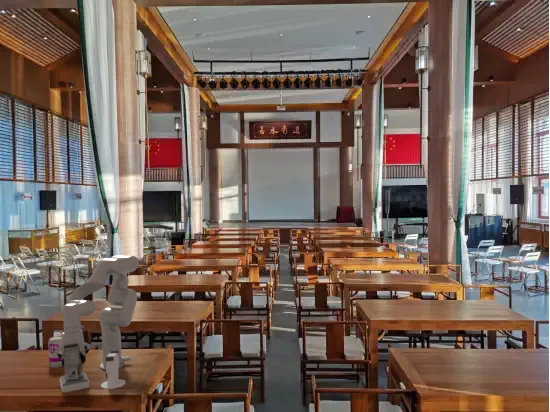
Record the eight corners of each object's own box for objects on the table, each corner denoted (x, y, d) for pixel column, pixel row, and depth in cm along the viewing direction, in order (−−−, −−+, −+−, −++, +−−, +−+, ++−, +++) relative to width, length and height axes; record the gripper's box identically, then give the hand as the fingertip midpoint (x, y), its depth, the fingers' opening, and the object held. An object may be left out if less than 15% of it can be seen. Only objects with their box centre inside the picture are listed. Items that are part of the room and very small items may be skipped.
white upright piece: (104, 380, 250) (103, 350, 250) (128, 378, 251) (126, 349, 251) (98, 389, 238) (96, 358, 238) (122, 388, 239) (121, 356, 239)
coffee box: (70, 373, 248) (69, 340, 247) (83, 372, 249) (82, 340, 248) (64, 380, 239) (62, 346, 238) (78, 379, 239) (76, 345, 239)
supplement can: (59, 368, 270) (58, 340, 270) (46, 367, 272) (44, 340, 271) (68, 363, 278) (67, 336, 278) (55, 362, 280) (54, 335, 279)
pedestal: (86, 379, 252) (85, 371, 252) (89, 387, 241) (88, 379, 241) (60, 384, 246) (59, 376, 246) (62, 392, 236) (61, 384, 236)
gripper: (90, 324, 250) (91, 359, 251) (52, 330, 242) (53, 366, 243) (92, 328, 244) (93, 363, 244) (53, 333, 236) (54, 370, 236)
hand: (73, 364), depth 244 cm, fingers closed on coffee box, 8 cm apart
